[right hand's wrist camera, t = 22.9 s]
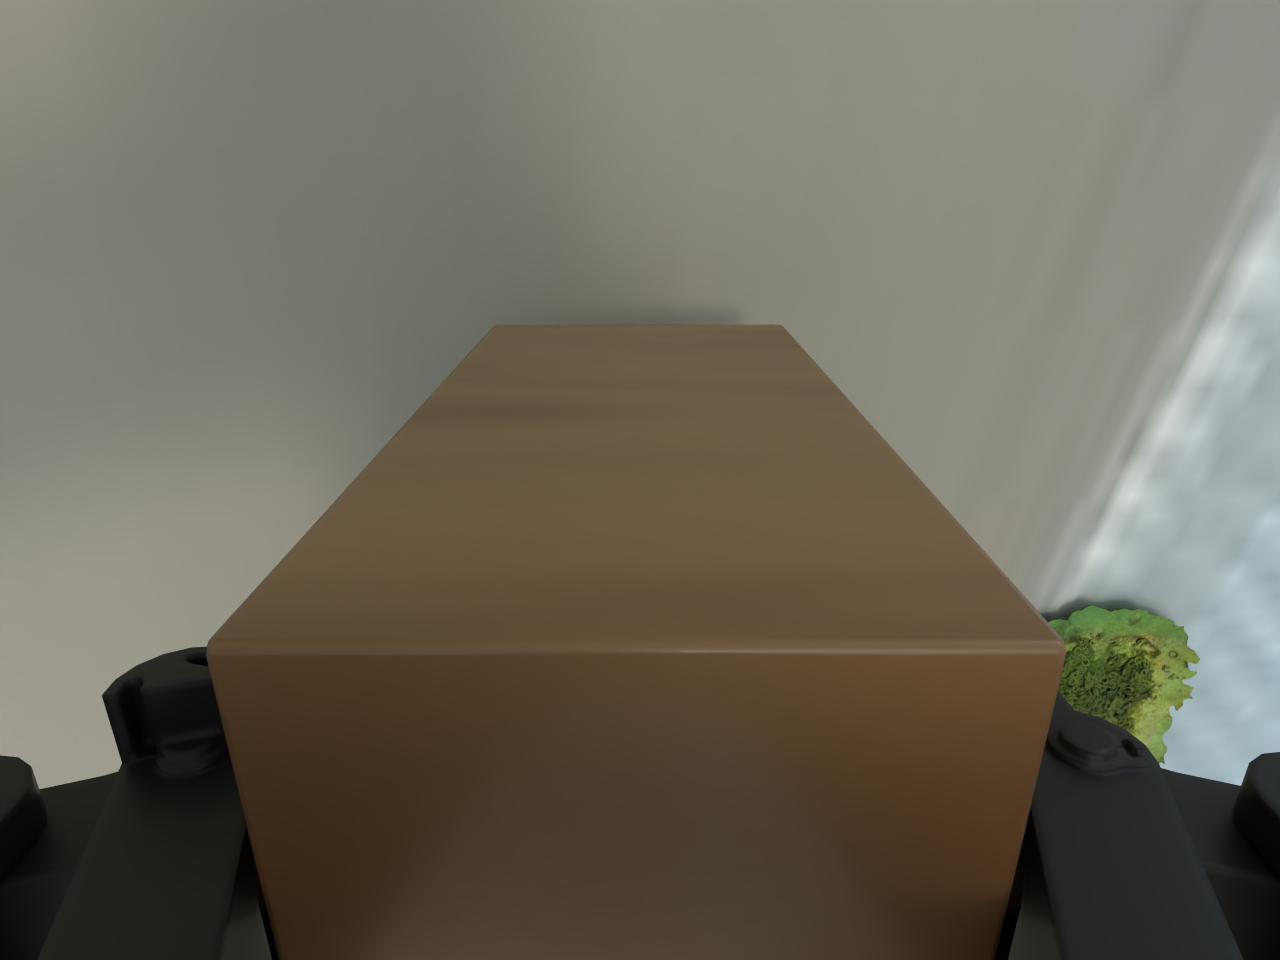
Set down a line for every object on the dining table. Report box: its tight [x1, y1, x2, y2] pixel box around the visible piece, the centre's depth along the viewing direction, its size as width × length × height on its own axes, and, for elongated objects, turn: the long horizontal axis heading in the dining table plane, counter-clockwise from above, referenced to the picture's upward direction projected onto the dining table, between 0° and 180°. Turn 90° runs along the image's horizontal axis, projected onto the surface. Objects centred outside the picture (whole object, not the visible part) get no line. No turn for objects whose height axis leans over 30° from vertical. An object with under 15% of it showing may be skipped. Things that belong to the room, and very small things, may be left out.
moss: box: [1048, 605, 1200, 764], centre depth 25 cm, size 12×15×1 cm
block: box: [206, 325, 1066, 960], centre depth 12 cm, size 7×6×11 cm
